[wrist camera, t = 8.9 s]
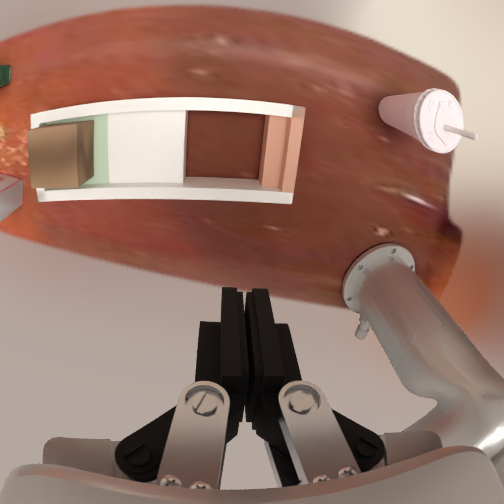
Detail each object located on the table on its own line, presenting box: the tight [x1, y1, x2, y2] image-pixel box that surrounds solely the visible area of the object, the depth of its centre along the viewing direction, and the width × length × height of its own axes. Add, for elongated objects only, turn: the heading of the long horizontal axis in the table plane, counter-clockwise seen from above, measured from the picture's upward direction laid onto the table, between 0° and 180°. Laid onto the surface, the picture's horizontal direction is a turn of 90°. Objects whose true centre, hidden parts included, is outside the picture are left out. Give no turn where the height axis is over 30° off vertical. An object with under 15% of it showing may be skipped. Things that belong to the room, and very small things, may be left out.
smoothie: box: [379, 88, 478, 153], centre depth 22 cm, size 6×6×14 cm
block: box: [28, 120, 94, 188], centre depth 22 cm, size 6×6×4 cm
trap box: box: [31, 97, 306, 204], centre depth 26 cm, size 10×28×4 cm, turn 85°
